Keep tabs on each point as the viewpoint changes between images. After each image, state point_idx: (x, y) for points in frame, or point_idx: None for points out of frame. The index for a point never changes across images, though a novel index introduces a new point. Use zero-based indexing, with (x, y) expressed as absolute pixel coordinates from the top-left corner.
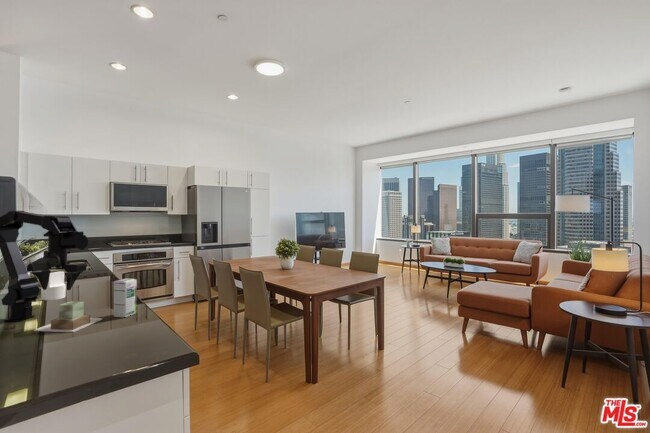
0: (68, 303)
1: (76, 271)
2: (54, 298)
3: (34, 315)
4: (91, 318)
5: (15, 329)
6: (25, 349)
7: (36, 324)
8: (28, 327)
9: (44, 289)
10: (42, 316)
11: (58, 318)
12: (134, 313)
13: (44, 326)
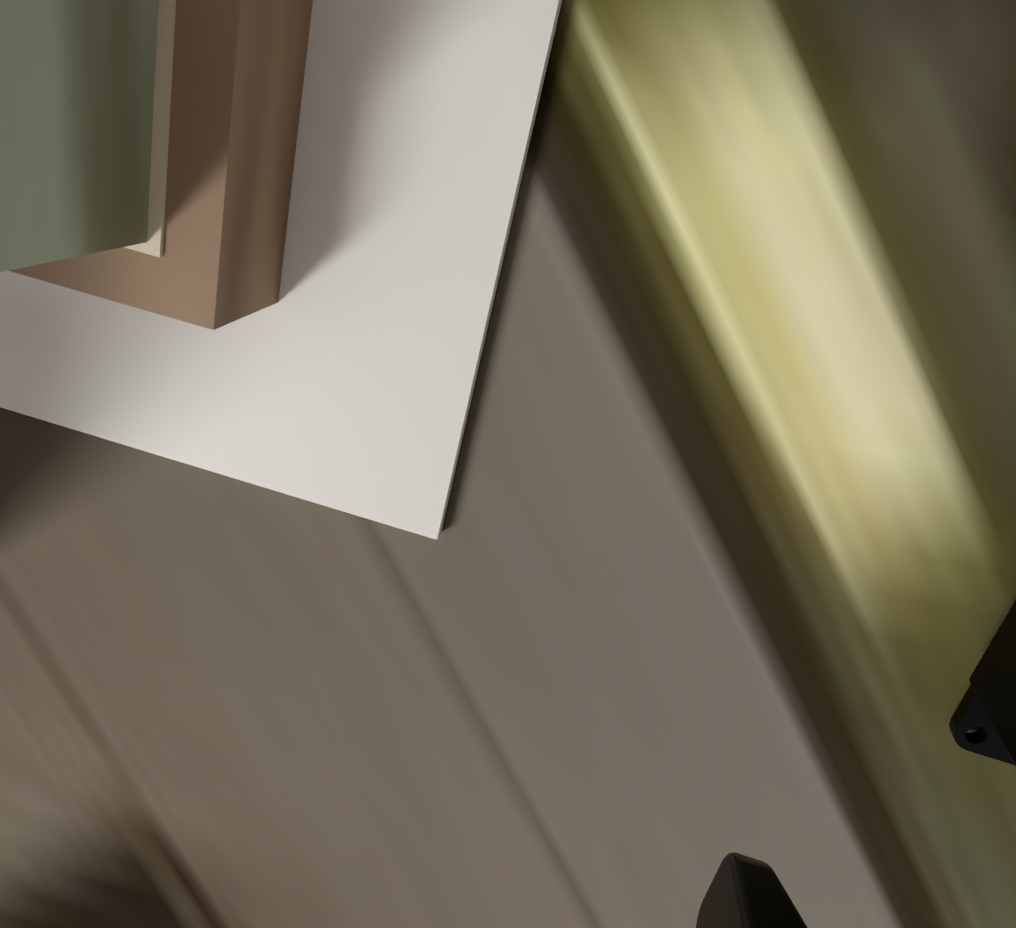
0: None
1: None
2: None
3: (954, 729)
4: (81, 414)
5: (945, 68)
6: None
7: (728, 311)
8: (776, 158)
9: (723, 862)
10: (836, 704)
11: (207, 25)
12: None
13: (509, 102)
